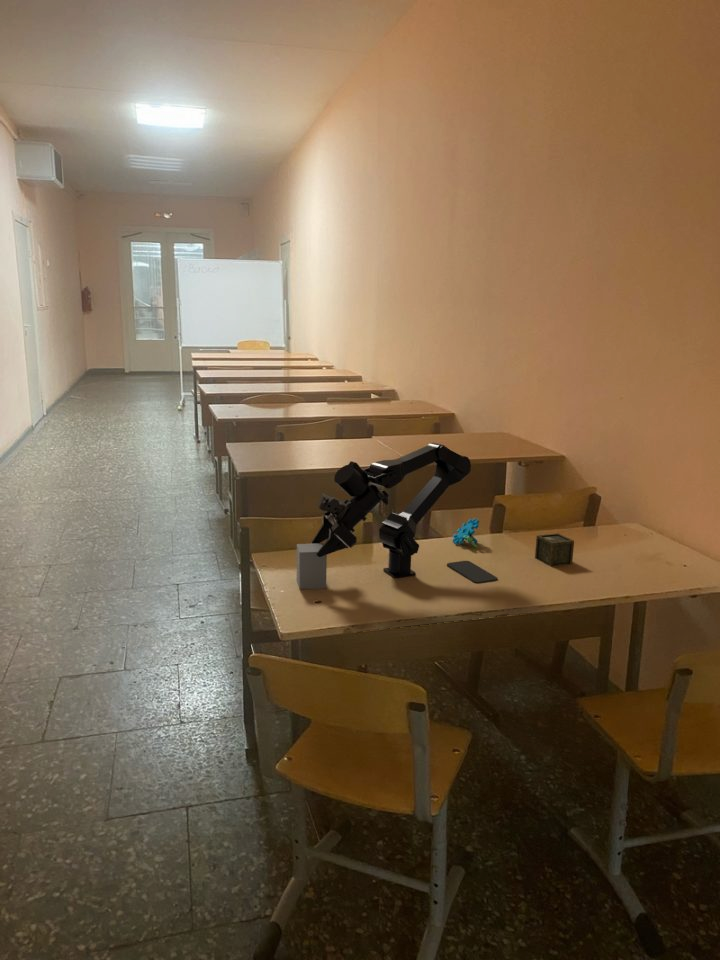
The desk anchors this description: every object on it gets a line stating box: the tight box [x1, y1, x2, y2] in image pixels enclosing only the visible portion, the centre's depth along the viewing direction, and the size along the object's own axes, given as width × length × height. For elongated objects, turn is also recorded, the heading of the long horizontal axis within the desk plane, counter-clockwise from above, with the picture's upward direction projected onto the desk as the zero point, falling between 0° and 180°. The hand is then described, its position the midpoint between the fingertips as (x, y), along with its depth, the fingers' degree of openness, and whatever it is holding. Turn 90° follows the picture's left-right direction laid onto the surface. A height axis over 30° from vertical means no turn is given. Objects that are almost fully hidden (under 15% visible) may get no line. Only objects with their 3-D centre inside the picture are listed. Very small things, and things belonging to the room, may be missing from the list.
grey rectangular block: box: [296, 542, 328, 590], centre depth 176 cm, size 7×7×10 cm
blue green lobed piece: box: [451, 517, 480, 549], centre depth 212 cm, size 11×6×10 cm
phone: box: [446, 560, 498, 584], centre depth 188 cm, size 7×1×15 cm
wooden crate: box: [534, 533, 575, 567], centre depth 198 cm, size 7×7×7 cm
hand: (315, 549), depth 175 cm, fingers open, 9 cm apart
